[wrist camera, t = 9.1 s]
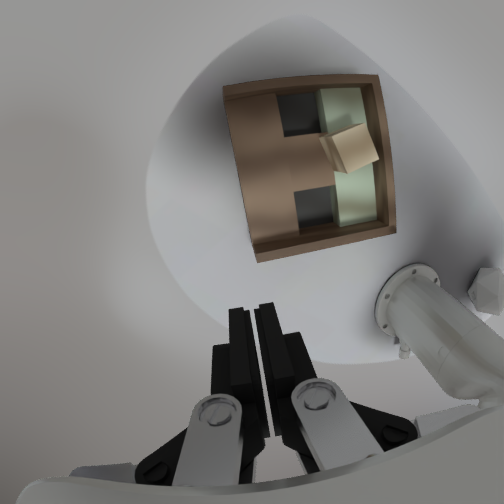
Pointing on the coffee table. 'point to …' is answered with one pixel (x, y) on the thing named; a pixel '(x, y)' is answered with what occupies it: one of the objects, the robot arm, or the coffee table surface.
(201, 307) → the coffee table surface
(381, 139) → the box
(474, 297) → the die
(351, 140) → the maple block
